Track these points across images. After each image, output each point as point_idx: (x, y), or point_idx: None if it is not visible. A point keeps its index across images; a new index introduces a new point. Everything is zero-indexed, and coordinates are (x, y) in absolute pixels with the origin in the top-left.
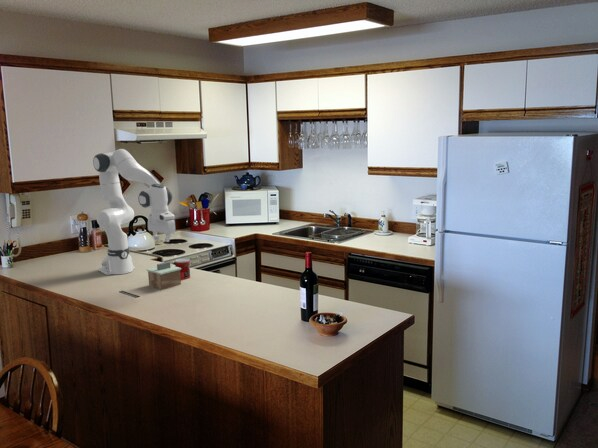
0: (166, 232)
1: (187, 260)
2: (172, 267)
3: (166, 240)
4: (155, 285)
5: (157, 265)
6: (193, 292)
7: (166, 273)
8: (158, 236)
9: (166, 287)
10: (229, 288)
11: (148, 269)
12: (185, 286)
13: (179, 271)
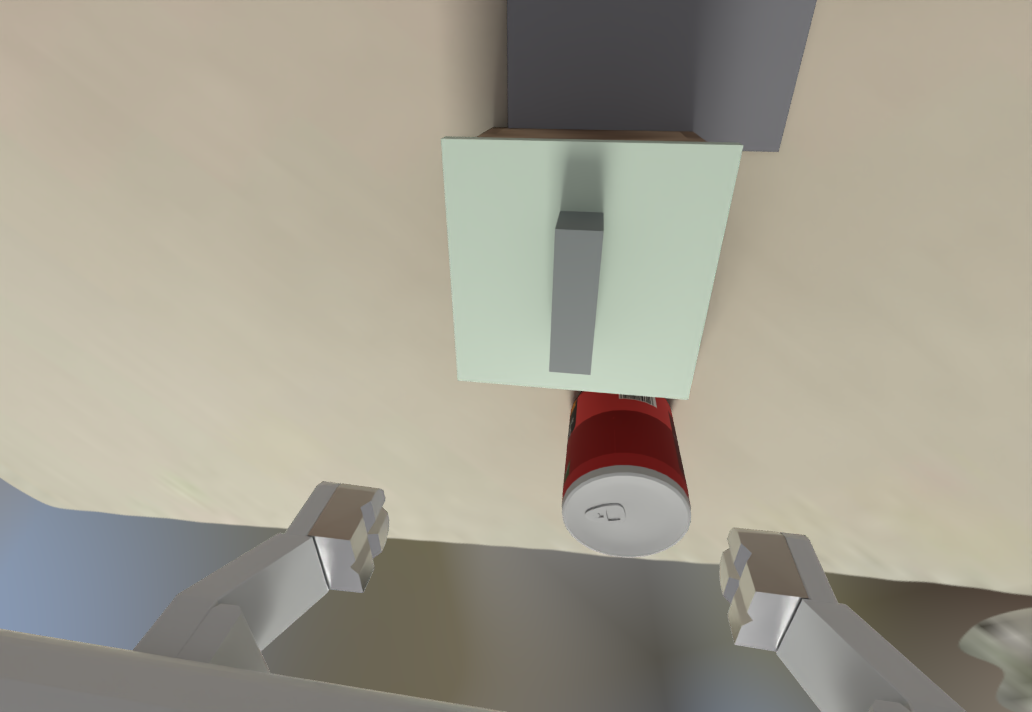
0: (6, 685)
1: (578, 527)
2: (540, 353)
3: (308, 501)
4: (588, 132)
5: (593, 226)
6: (294, 246)
7: None
8: (734, 636)
9: None
10: (236, 408)
11: (713, 155)
12: None
13: None
